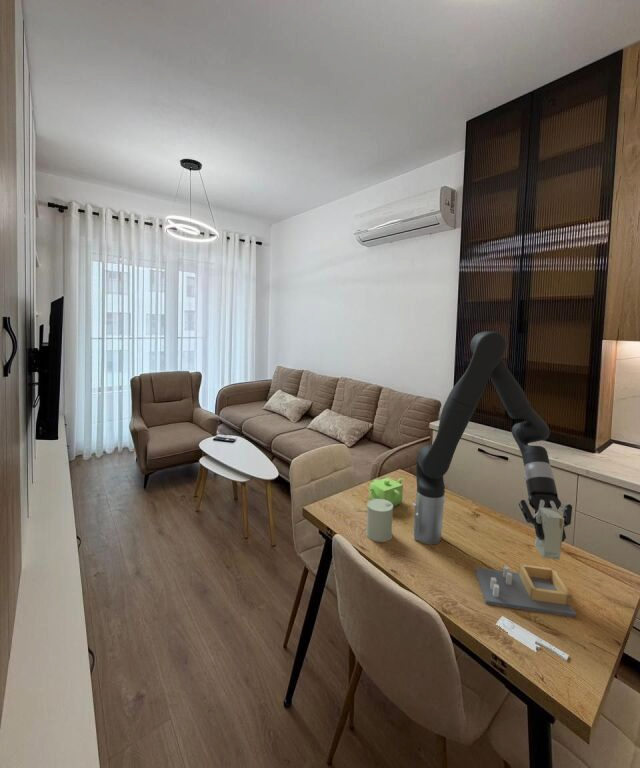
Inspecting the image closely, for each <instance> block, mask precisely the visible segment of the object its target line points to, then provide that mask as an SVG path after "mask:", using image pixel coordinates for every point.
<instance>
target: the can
mask: <svg viewBox="0 0 640 768" xmlns="http://www.w3.org/2000/svg"><path fill="white" fill-rule="evenodd" d="M366 505H367V507H366V530H365V534H366V537H367V538H368V539H370V540H371V541H373V542H377V543H383V542H384V543H385V542H389V541H390V540H391V539H392V537H393V533H392V530H393V511H394V506H393V504H392V503H391V502H389V501H387V500H384V499H372V500H370V501H369V500H368V501H367V503H366Z"/></svg>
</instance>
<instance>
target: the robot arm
mask: <svg viewBox="0 0 640 768" xmlns="http://www.w3.org/2000/svg"><path fill="white" fill-rule="evenodd" d="M470 351H471V353H472V357H471V359H470V362H469V364H468V366H467V368H466V370H465V372H464V374H462V376H461V377H459V380H458V381H457V382H456V383H455V385H454V386H453V387H452V389H451V390H450V392H449V394H448V396H447V398H446V400H445V403H444V405H443V407H442V410H441V413H440V418H439V423H438V429H437V432H436V433H437V434H436V436H435V437H434V441H433V443H432V444H427V445H425V446H423V447H421V448H420V449H419V451H418V452H417V458H416V475H415V476H416V478H415V479H416V480H415V481H416V498H415V499H416V500H415V502H416V506H415V507H414V522H413V537H414V538H413V539H414V540H415V541H418V542H420V543H422V544H426V545H437V544H439V543H440V542H441V540H442V533H443V532H442V531H443V518H444V517H443V516H444V502H445V501H444V498H445V492H446V491H445V489H446V486H445V482H444V481H445V480H444V476H445V475H446V474H447V472H448V471H449V468H450V466H451V463H452V461H453V457H454V455H455V453H456V452H455V451H456V449H457V447H458V444H459V442H460V440H461V439H462V436H463V434H464V432H465V431H466V428H467V427H468V424H469V423H470V420H471V419H472V417H473V415H474V413H475V411H476V408H477V406H478V405H479V402H480V399H481V398H482V395H483V393H484V391H485V389H486V386H487V384H488V382H489V380H491V382H492V384H493V387H494V388H495V390H496V393H497V394H498V397H499V398H500V401H501V402H502V404H503V406H504V408H505V410H506V412H507V415H508V416H509V417H510V418H511V419H514V420H516V419H518V420H521V419H523V420H525V421H522V422H518V423H514V425H513V426H512V428H511V435H512V438H513V439H514V441H515V442H516V444H517V446H518V449H519V451H520V454H521V456H522V462H523V469H524V470H523V471H524V480H525V483H526V490H527V495H528V498H527V500H526V499H525V500H524V499H521V500H520V501H519V502H518V506H519V508H520V511H521V512H522V515H523V517H524V519H525V521H526V523H528V524H531V525H533V526H534V530H535V537H536V536H537V537H539V540H543V539H544V532H543V527H542V524H541V512H540V508H544V507H545V508H552V509H556V510H557V511H558V512H559V509H561V511H562V513H563V514H562V516H563V518H564V527H563V535H562V543H563V542H564V541H565V540H566V539H567V534H566V530H565V527H566V528H567V527H568V526H570V525H571V523H572V516H573V515H572V513H573V505H572V504H565V503H563V502H561V500H560V499H559V496H558V491H557V485H556V481H555V477H554V472H553V469H552V467H551V463H550V459H549V458H550V457H549V455H548V454H549V453H548V450H547V448H545V447H543V446H541V445H529V444H530V443H531V444H532V443H537V442H540V441H541V442H542V441H545V440H547V439H548V438H549V437H550V428H549V426H548V424H547V423H546V422H545V421H544V419H543V418H542V417H540V415H539V414H538V413H537V412H536V411H535V410H534V409H533V407H532V406H531V403H530V401H529V400H528V397H527V396H526V394H525V392H524V390H523V388H522V386H521V385H520V384H519V382H518V381H517V380H516V378H515V377H514V375H513V374H512V373H511V371H510V369H509V368H508V366H507V364H506V363H505V360H504V358H503V357H504V355H505V352H506V351H507V340H506V338H505V337H504V335H503V334H502V333H499V332H497V331H481V332H478V333H477V334H475V335H474V336H473V337H472V339H471V341H470ZM529 507H531V508H532V509H533V510H534V512H533V514H532V513H531V511H530V508H529ZM559 513H560V512H559Z"/></svg>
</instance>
